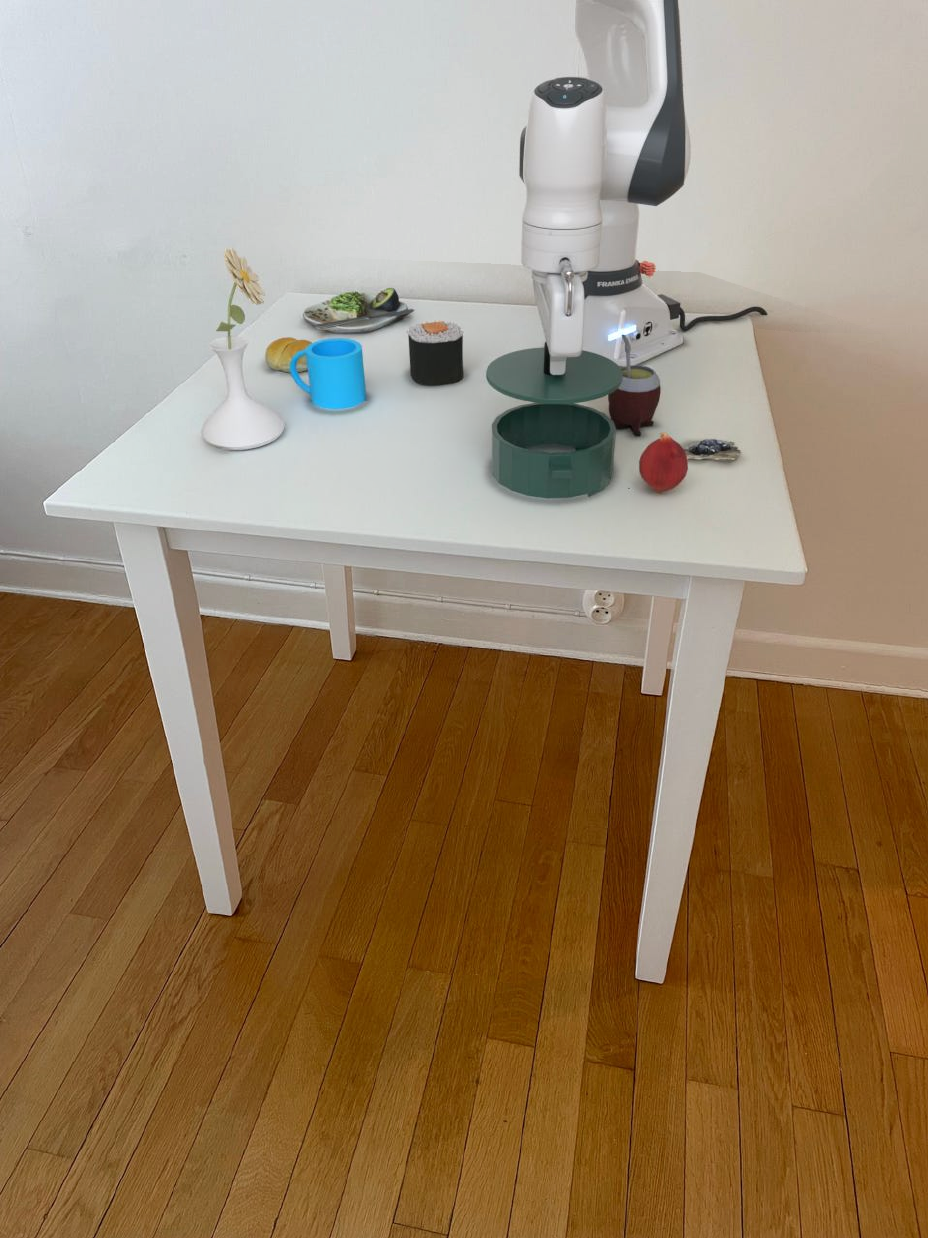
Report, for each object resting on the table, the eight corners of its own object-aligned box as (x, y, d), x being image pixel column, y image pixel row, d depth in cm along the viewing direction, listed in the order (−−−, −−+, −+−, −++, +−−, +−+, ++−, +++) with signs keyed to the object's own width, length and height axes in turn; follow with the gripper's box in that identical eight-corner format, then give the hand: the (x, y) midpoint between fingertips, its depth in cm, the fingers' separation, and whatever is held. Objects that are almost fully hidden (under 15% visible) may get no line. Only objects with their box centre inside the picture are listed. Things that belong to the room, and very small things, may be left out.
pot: (599, 435, 131) (603, 391, 127) (624, 511, 114) (628, 463, 111) (488, 438, 131) (488, 394, 127) (496, 515, 114) (496, 467, 110)
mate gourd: (647, 414, 136) (657, 309, 127) (665, 437, 130) (678, 329, 121) (596, 418, 135) (603, 314, 127) (613, 442, 129) (621, 334, 120)
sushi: (404, 370, 151) (401, 320, 147) (454, 363, 153) (452, 314, 149) (417, 389, 145) (415, 338, 140) (469, 381, 147) (468, 331, 142)
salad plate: (351, 348, 160) (348, 320, 157) (278, 326, 169) (275, 300, 166) (425, 316, 172) (424, 290, 169) (354, 297, 181) (352, 273, 178)
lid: (611, 354, 122) (614, 318, 119) (632, 407, 109) (636, 368, 106) (483, 357, 122) (483, 320, 119) (489, 410, 109) (489, 370, 106)
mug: (376, 394, 144) (371, 342, 139) (350, 416, 138) (344, 361, 133) (307, 383, 148) (301, 332, 143) (279, 404, 142) (271, 351, 137)
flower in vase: (260, 463, 126) (229, 271, 112) (187, 451, 130) (147, 263, 115) (306, 423, 136) (283, 242, 121) (237, 413, 140) (206, 235, 125)
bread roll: (288, 350, 159) (285, 327, 157) (330, 360, 155) (327, 336, 153) (254, 367, 154) (250, 342, 151) (296, 377, 150) (293, 353, 147)
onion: (682, 481, 120) (689, 423, 115) (685, 504, 115) (694, 444, 111) (635, 480, 121) (641, 421, 116) (637, 502, 116) (643, 442, 111)
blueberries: (746, 464, 123) (748, 451, 122) (685, 467, 123) (687, 454, 122) (730, 441, 129) (732, 428, 128) (672, 444, 128) (673, 431, 127)
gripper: (602, 274, 98) (592, 400, 106) (578, 223, 114) (571, 336, 122) (540, 275, 98) (536, 402, 106) (525, 224, 114) (522, 337, 122)
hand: (555, 366), depth 114 cm, fingers closed on lid, 2 cm apart
